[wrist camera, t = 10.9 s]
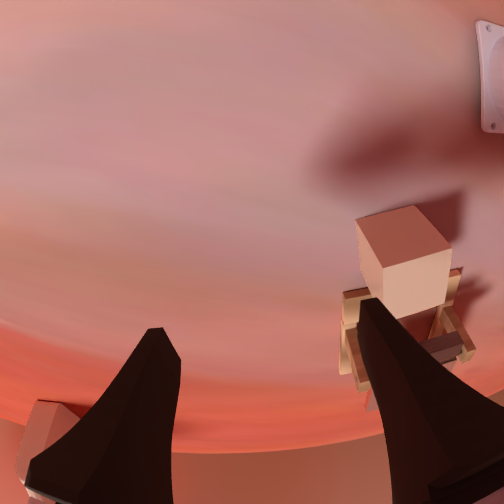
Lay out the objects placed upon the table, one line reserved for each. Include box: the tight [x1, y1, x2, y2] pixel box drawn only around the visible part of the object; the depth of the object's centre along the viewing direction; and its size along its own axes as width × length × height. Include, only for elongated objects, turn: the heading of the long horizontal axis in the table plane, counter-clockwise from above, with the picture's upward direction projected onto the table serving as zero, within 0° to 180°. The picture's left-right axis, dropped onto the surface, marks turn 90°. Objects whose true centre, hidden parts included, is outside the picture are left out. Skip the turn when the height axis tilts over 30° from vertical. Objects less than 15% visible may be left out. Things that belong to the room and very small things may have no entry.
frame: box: [339, 269, 476, 393], centre depth 24 cm, size 11×11×6 cm
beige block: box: [355, 205, 452, 319], centre depth 19 cm, size 5×5×6 cm
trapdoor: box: [364, 331, 464, 412], centre depth 22 cm, size 8×8×1 cm
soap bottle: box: [15, 401, 80, 504], centre depth 29 cm, size 11×8×27 cm
